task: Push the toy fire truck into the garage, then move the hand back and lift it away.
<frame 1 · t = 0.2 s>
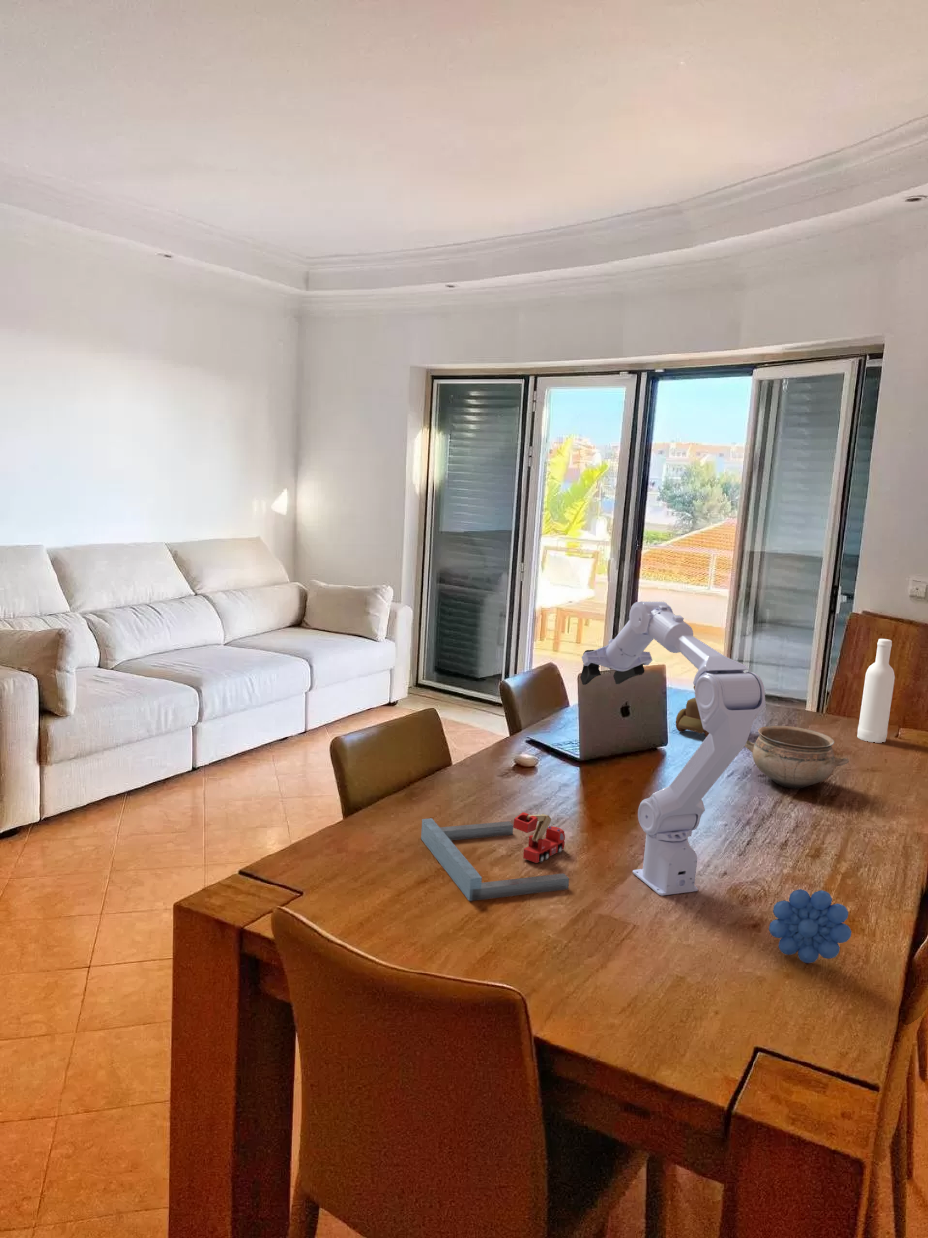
hand: (599, 680, 182), 30 cm above the table, tool tilted 45°, fingers open, 7 cm apart
toy fire truck: (538, 859, 168), on the table
cooking pot: (789, 784, 220), on the table
blue beaded flower: (806, 960, 137), on the table
garage: (492, 862, 164), on the table
bottle: (871, 739, 265), on the table
wooden toy train: (704, 732, 261), on the table
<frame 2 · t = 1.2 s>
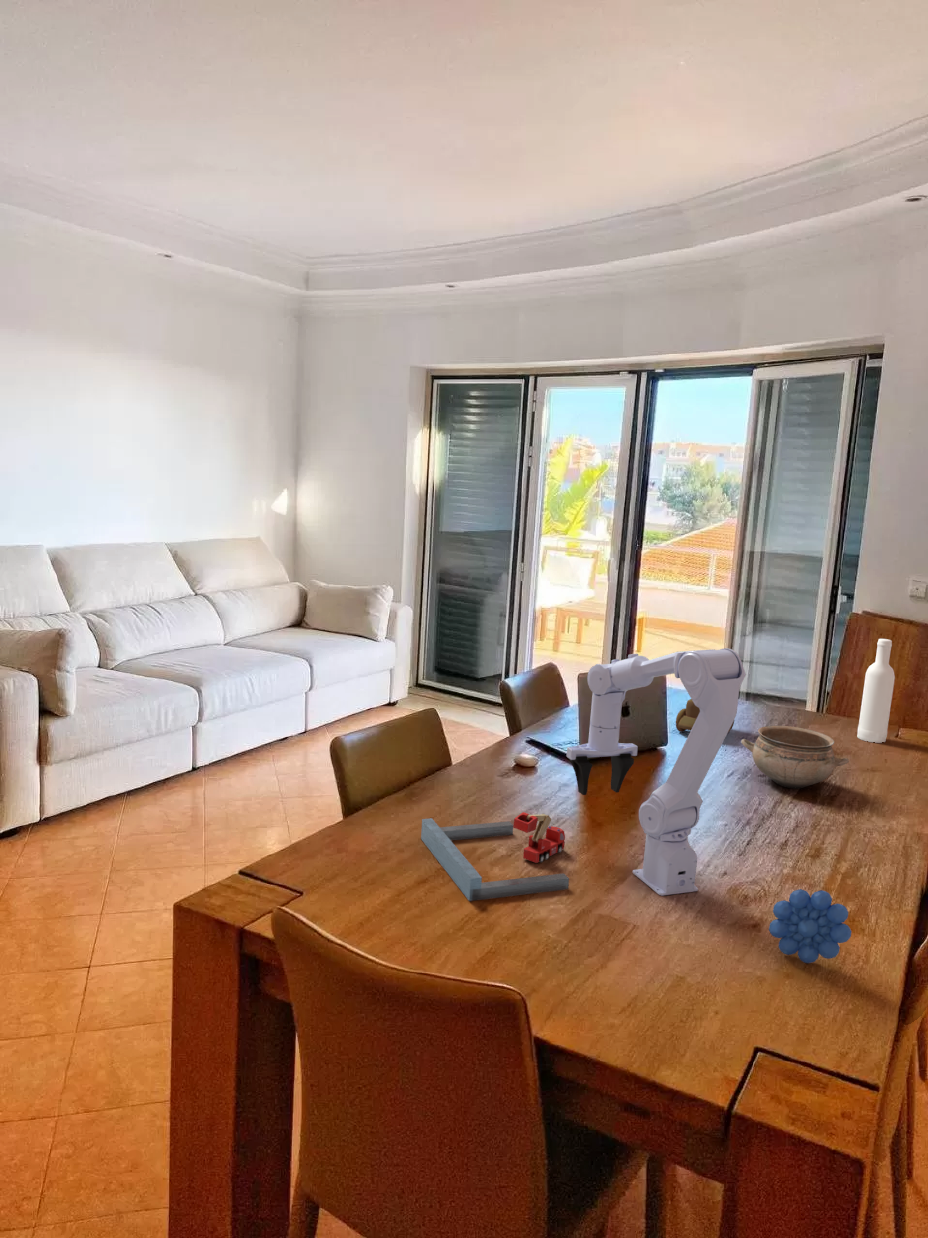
hand: (598, 792, 175), 10 cm above the table, tool pointing down, fingers open, 7 cm apart
nothing on the table moved.
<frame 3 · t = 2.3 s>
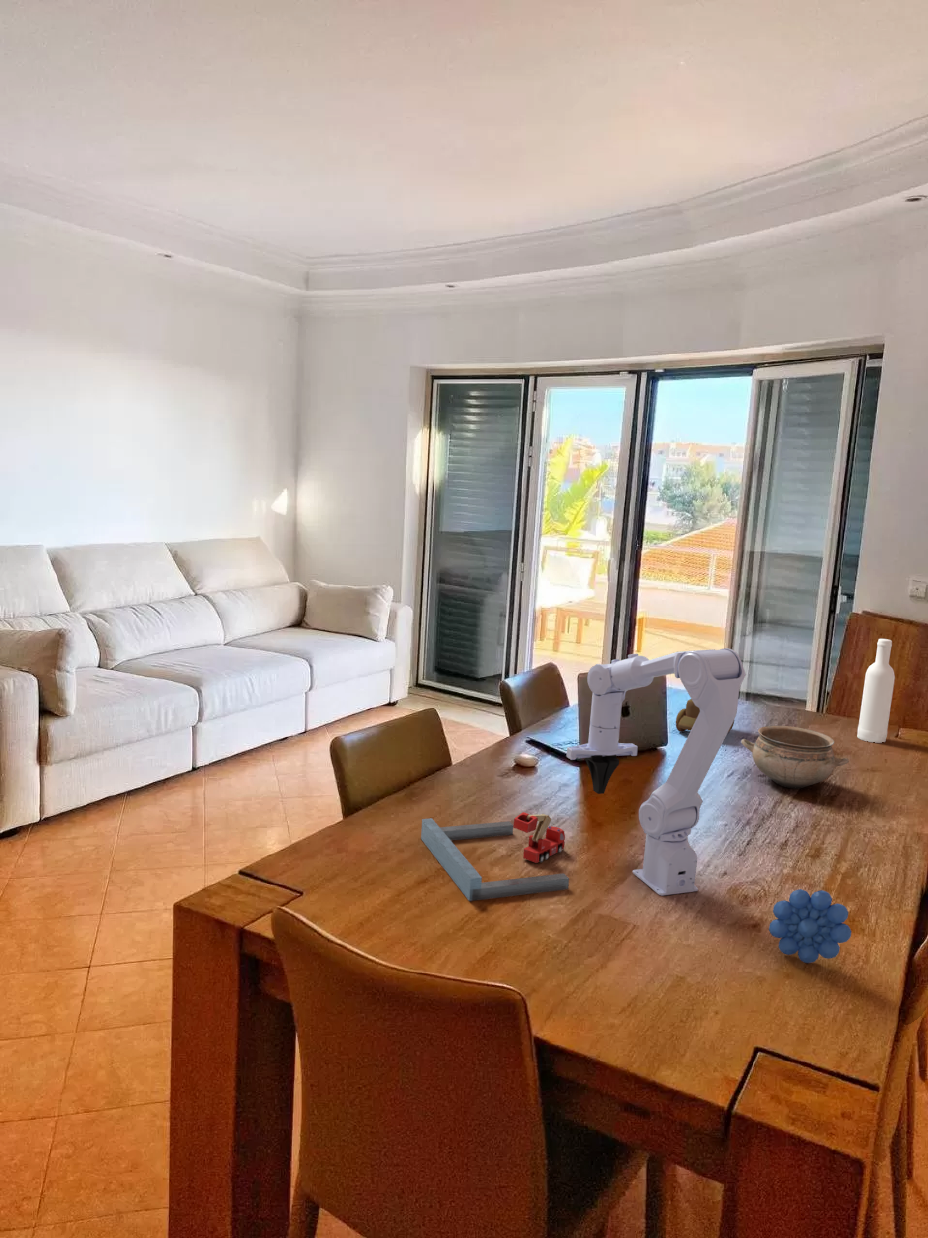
hand: (598, 792, 175), 10 cm above the table, tool pointing down, fingers closed
nothing on the table moved.
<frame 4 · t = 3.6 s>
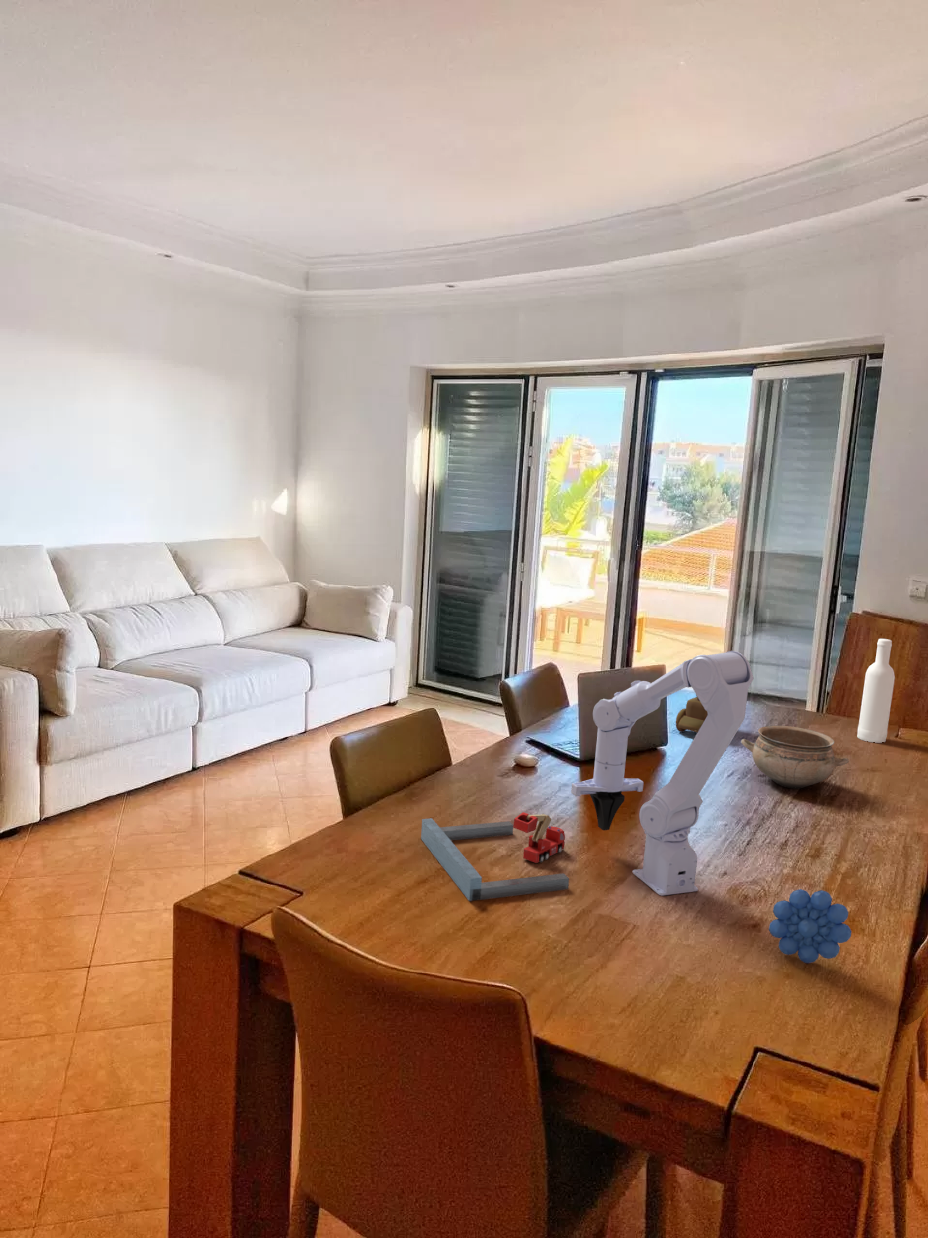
hand: (603, 828, 172), 5 cm above the table, tool pointing down, fingers closed
nothing on the table moved.
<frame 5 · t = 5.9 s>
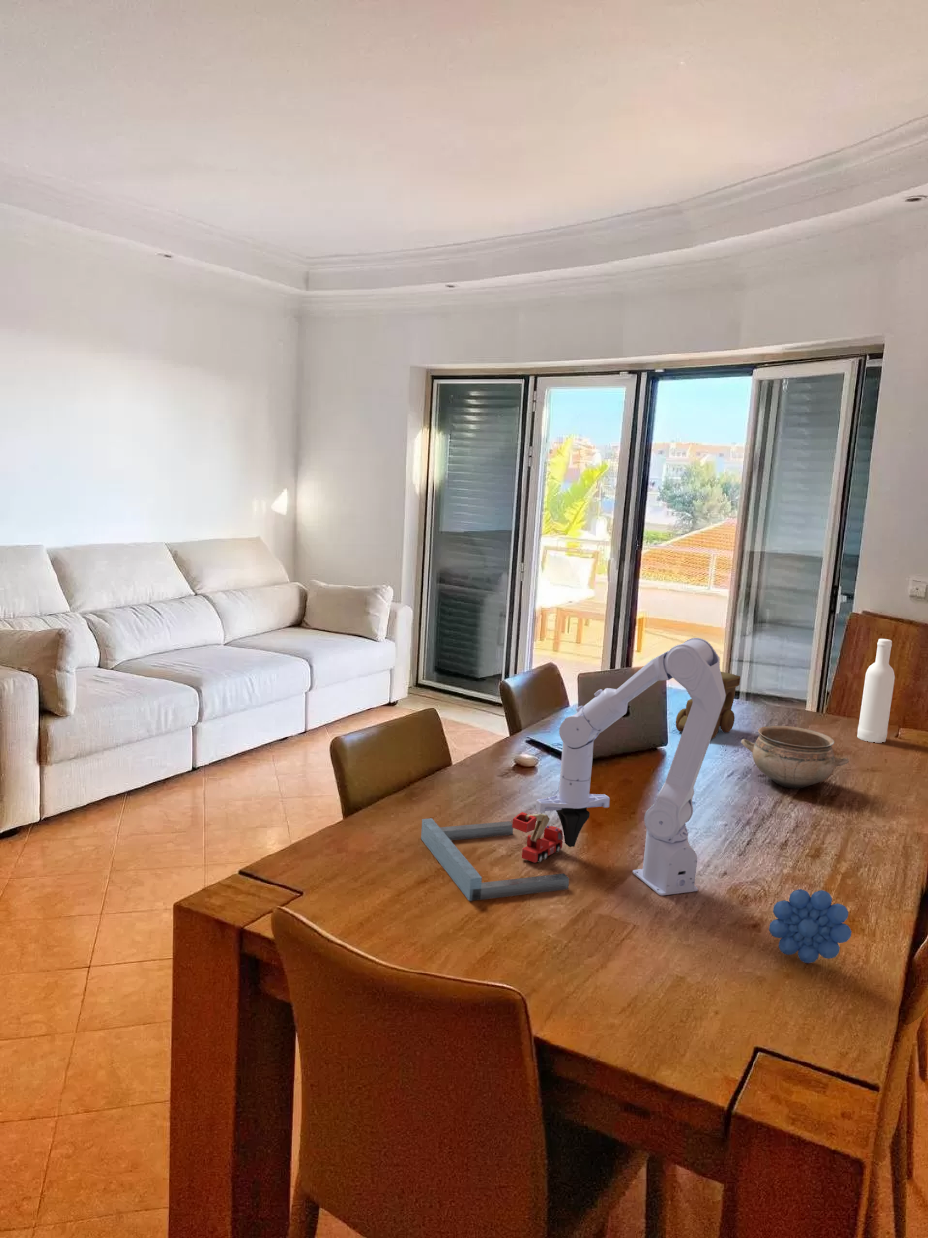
hand: (569, 844, 170), 2 cm above the table, tool pointing down, fingers closed
toy fire truck: (536, 858, 168), on the table, touching gripper
everything else where it was.
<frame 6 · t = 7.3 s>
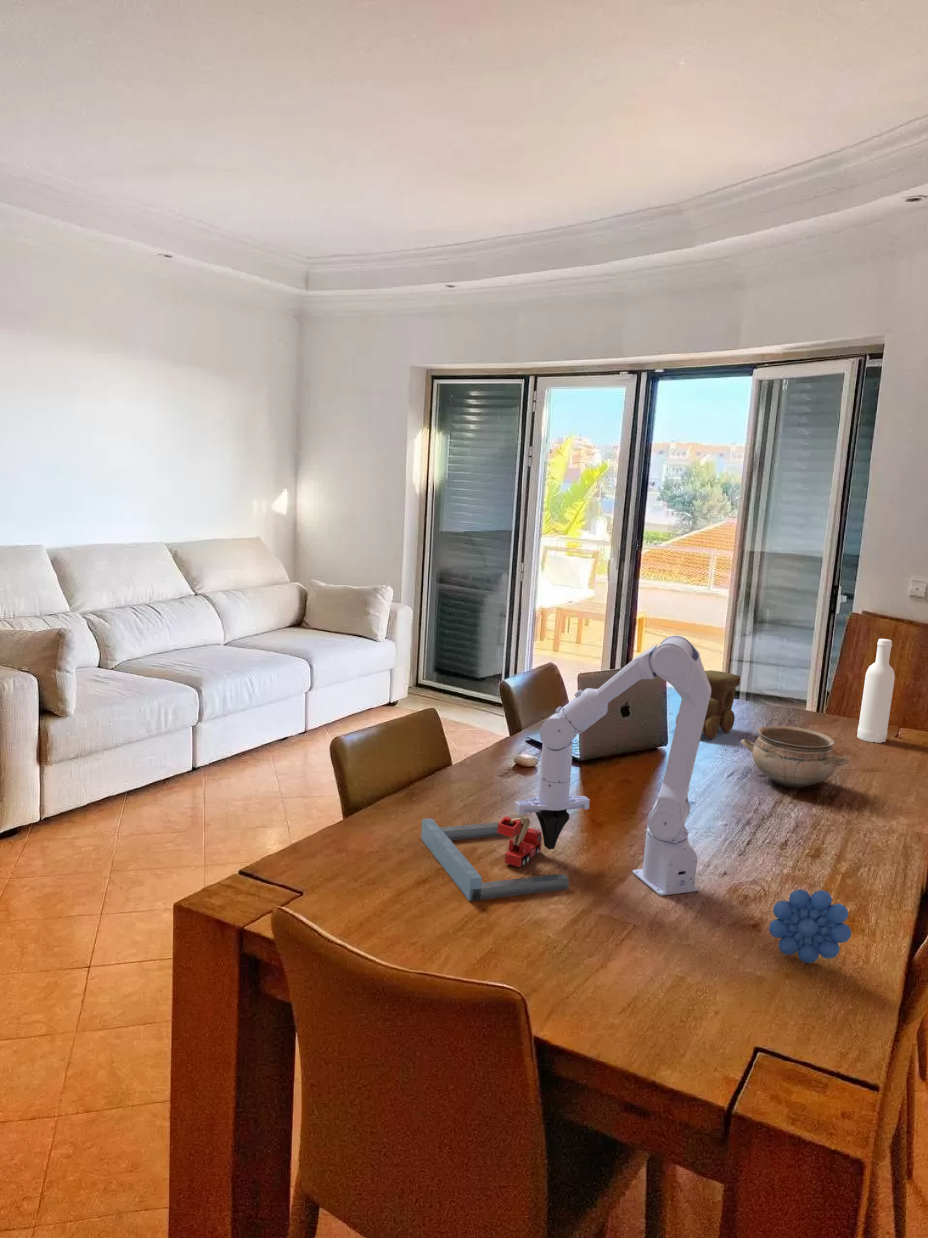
hand: (549, 847, 168), 2 cm above the table, tool pointing down, fingers closed
toy fire truck: (518, 862, 166), on the table, touching gripper
everything else where it was.
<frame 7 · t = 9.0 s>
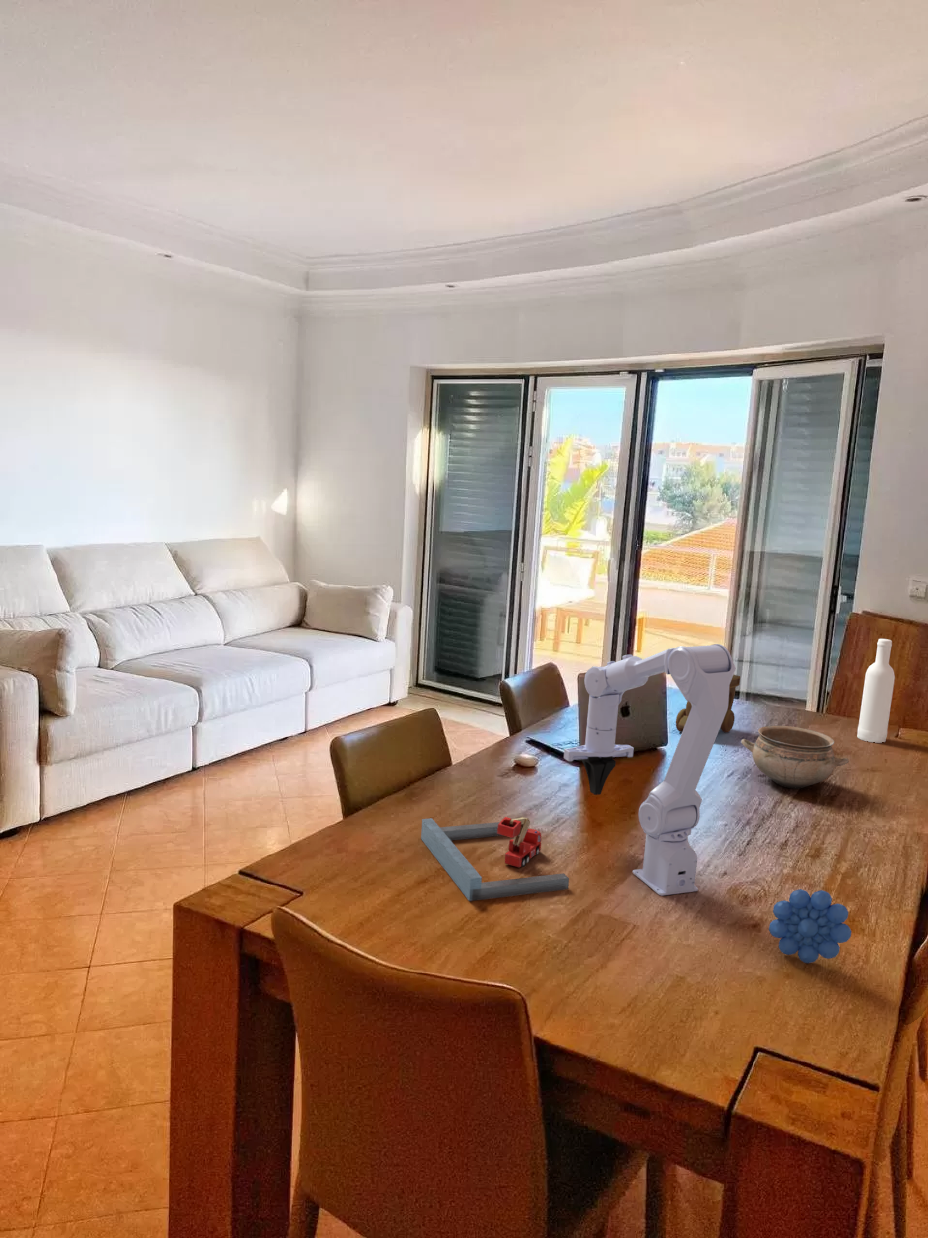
hand: (595, 793, 177), 9 cm above the table, tool pointing down, fingers closed
toy fire truck: (518, 862, 166), on the table
everything else where it was.
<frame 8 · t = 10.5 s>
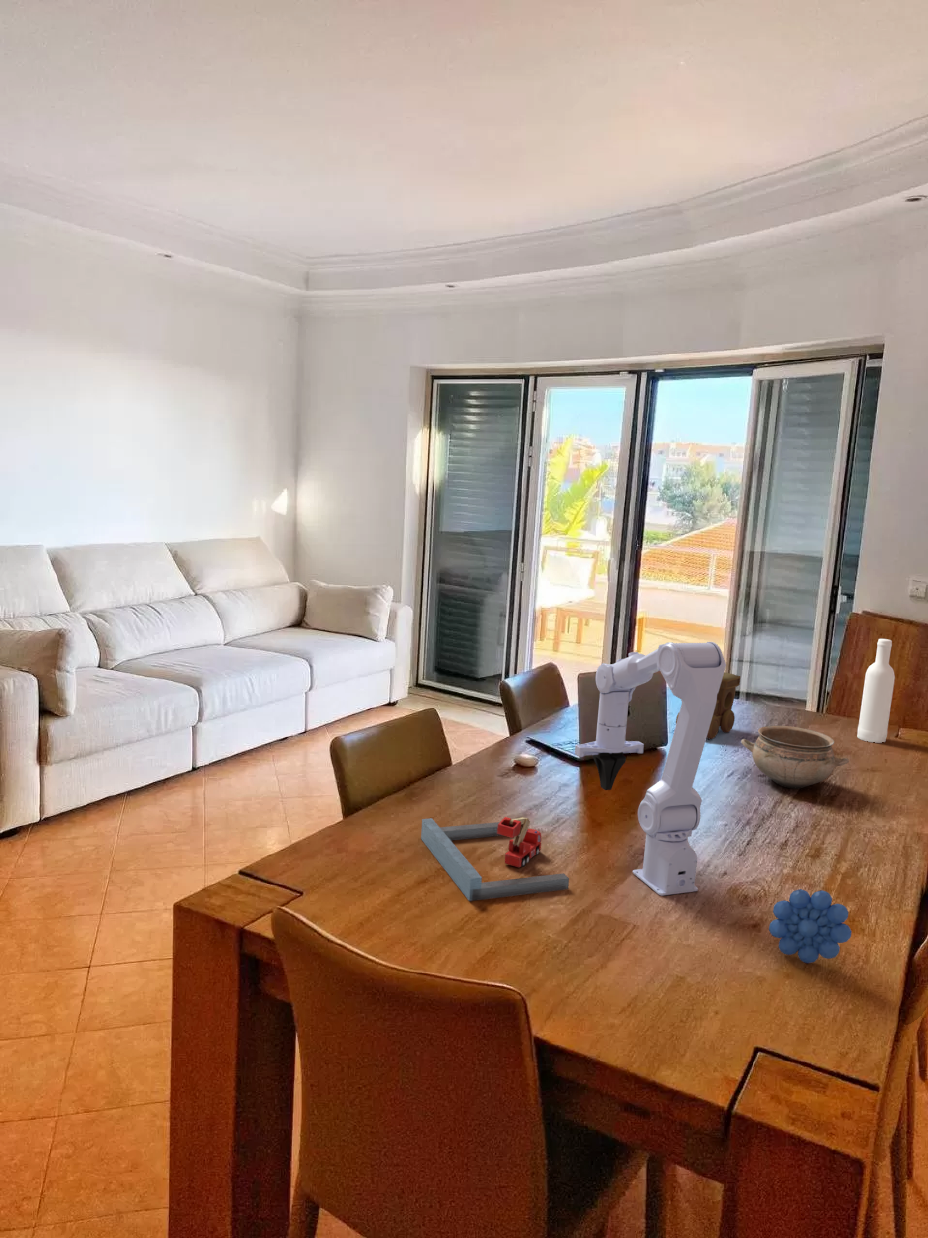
hand: (605, 788, 180), 9 cm above the table, tool pointing down, fingers closed
nothing on the table moved.
at the end: toy fire truck inside the target area (3.2 cm from its centre), on the table; toy fire truck tilted 0°; toy fire truck moved 4.5 cm from its start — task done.
